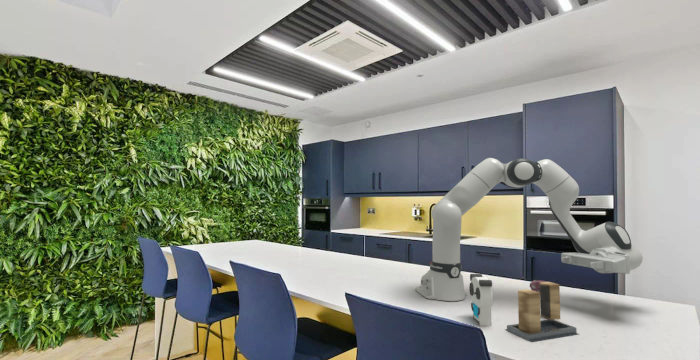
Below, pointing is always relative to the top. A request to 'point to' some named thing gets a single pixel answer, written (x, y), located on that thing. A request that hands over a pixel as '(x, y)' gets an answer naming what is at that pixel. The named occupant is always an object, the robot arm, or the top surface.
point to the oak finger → (550, 300)
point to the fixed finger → (529, 311)
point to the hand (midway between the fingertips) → (575, 262)
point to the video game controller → (536, 285)
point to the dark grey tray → (545, 331)
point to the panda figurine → (481, 298)
